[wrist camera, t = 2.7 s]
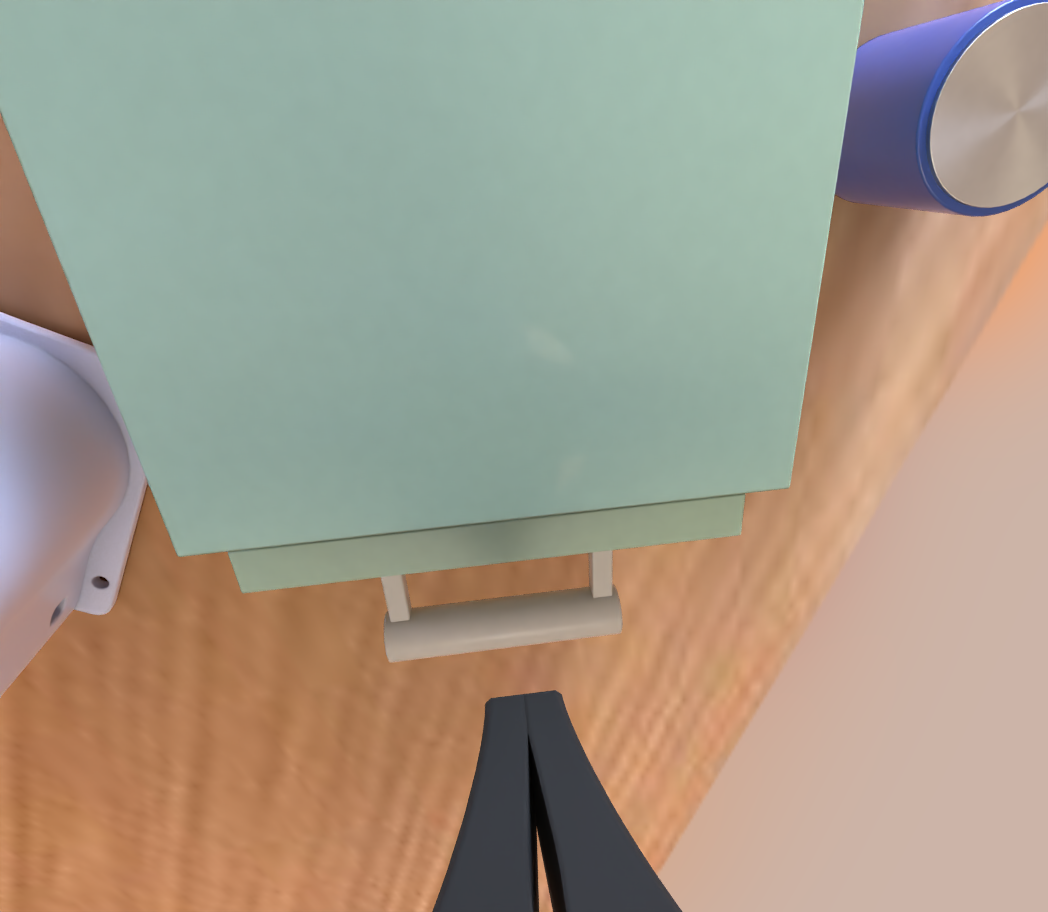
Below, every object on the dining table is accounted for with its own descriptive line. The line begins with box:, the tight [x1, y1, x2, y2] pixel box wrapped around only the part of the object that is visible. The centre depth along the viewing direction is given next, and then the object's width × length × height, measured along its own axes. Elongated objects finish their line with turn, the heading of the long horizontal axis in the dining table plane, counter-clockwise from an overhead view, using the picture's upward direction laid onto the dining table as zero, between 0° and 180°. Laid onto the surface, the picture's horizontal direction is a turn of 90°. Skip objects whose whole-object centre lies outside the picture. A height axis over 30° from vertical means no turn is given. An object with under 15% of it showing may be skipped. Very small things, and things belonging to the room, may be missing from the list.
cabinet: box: [0, 0, 864, 557], centre depth 13 cm, size 14×13×7 cm
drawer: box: [228, 493, 745, 662], centre depth 15 cm, size 18×12×6 cm, turn 4°
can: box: [835, 0, 1048, 216], centre depth 15 cm, size 4×4×4 cm
